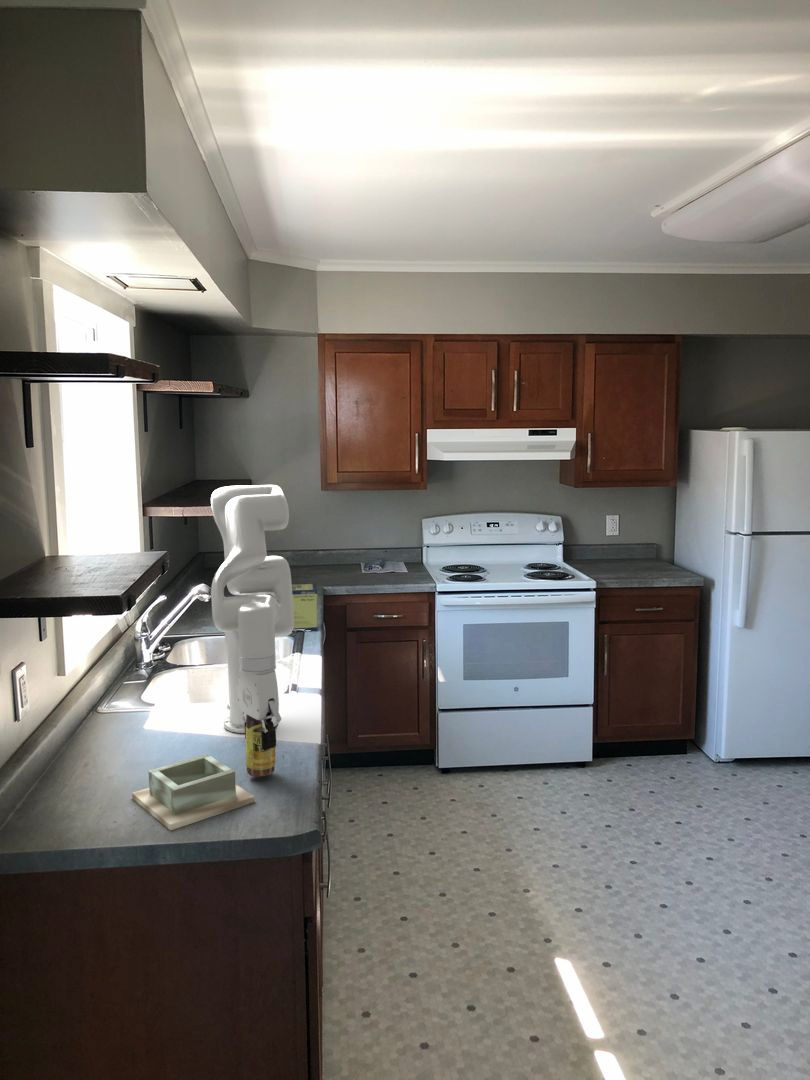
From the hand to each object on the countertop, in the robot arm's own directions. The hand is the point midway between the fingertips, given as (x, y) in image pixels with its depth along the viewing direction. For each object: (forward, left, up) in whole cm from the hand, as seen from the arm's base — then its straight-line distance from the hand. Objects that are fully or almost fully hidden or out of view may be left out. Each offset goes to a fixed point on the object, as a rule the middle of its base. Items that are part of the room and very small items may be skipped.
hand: (260, 742), depth 182 cm
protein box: (-105, +76, -8) cm, 129 cm away
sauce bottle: (0, 0, -7) cm, 7 cm away
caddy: (+1, -16, -8) cm, 18 cm away
